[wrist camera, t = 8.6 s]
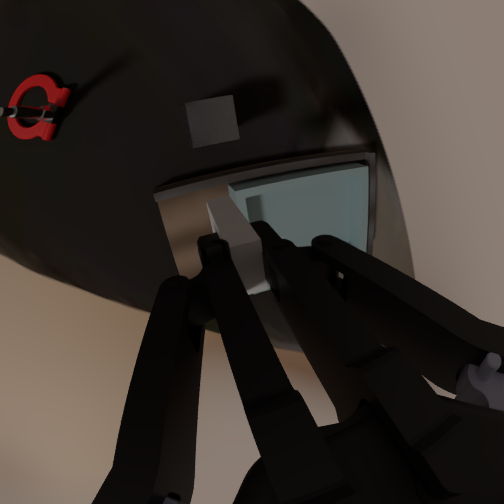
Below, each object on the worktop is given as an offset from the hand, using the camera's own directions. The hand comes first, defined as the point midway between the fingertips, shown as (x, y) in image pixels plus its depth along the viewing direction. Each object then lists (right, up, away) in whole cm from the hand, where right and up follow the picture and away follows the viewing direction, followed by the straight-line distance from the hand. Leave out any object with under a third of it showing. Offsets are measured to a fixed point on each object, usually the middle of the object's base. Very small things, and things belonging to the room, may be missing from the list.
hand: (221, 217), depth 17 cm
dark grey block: (-4, +13, +12) cm, 18 cm away
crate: (+9, +2, +20) cm, 22 cm away
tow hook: (-25, +16, +4) cm, 29 cm away
